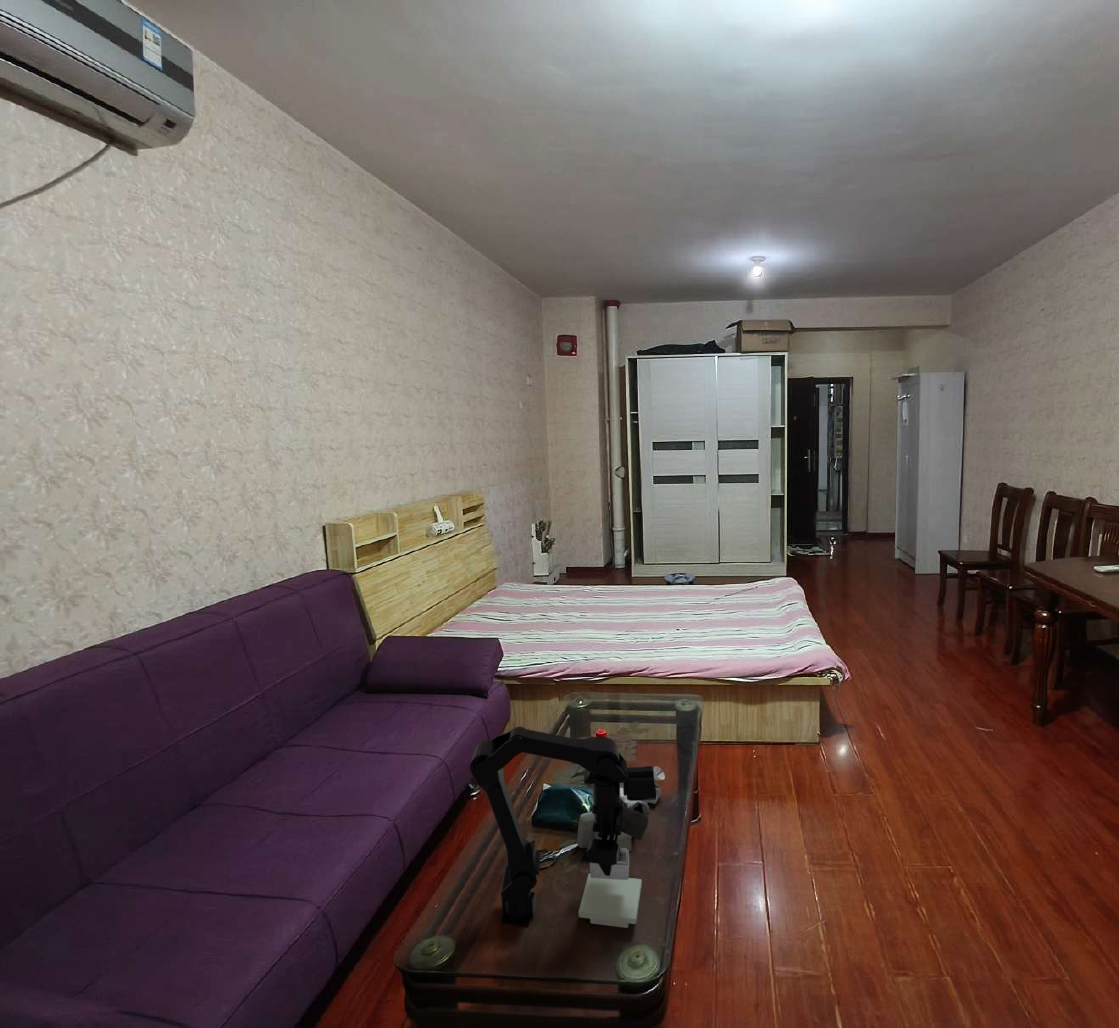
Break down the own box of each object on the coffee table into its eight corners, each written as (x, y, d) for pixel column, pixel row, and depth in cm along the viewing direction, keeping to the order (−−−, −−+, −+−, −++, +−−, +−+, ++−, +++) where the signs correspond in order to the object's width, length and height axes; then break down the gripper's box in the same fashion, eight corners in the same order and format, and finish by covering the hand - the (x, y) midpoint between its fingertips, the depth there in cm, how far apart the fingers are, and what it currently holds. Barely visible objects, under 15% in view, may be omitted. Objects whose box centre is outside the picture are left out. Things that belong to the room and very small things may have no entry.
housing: (628, 880, 139) (627, 861, 138) (590, 878, 140) (589, 859, 140) (629, 864, 144) (628, 846, 143) (592, 862, 145) (592, 844, 144)
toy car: (667, 762, 186) (657, 783, 176) (668, 794, 188) (658, 817, 177) (607, 752, 193) (593, 772, 183) (608, 783, 195) (595, 805, 184)
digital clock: (637, 832, 171) (636, 794, 169) (644, 855, 162) (643, 814, 160) (575, 838, 170) (573, 799, 168) (579, 861, 161) (577, 820, 159)
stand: (579, 929, 139) (578, 912, 138) (589, 889, 151) (588, 873, 150) (636, 936, 136) (635, 919, 136) (642, 895, 148) (641, 879, 147)
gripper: (640, 830, 129) (642, 902, 131) (649, 779, 147) (651, 843, 149) (584, 824, 131) (587, 895, 134) (599, 775, 149) (602, 838, 152)
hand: (609, 866), depth 142 cm, fingers closed on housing, 5 cm apart
